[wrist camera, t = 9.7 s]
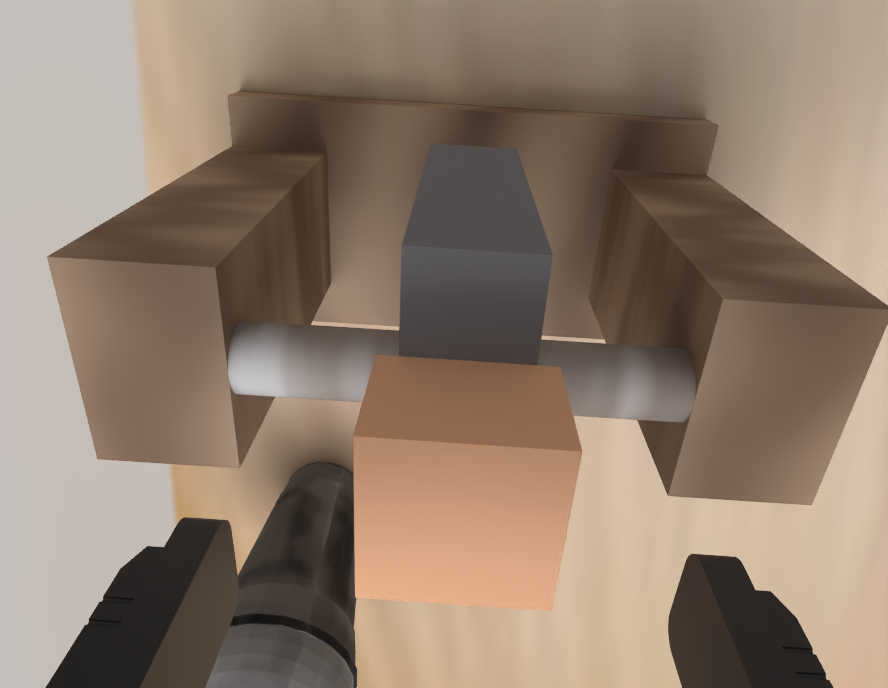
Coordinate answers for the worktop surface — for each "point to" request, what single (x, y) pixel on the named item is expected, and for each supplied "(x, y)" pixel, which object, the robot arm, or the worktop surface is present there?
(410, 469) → the peach and grey blocks
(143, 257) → the hook stand
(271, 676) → the beverage cup
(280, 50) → the worktop surface
